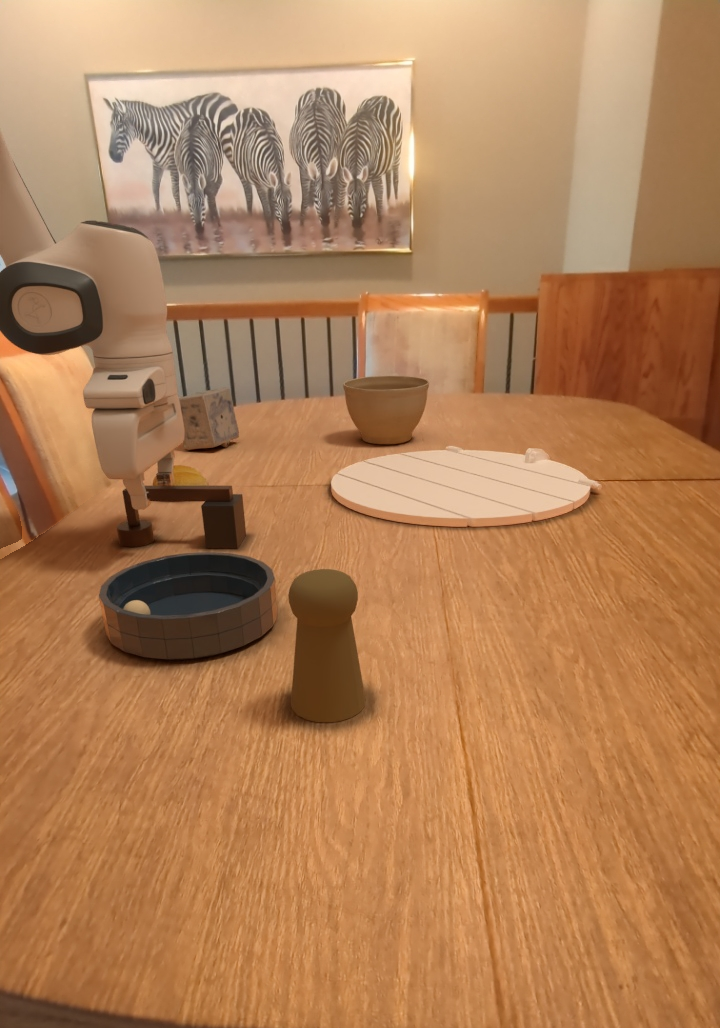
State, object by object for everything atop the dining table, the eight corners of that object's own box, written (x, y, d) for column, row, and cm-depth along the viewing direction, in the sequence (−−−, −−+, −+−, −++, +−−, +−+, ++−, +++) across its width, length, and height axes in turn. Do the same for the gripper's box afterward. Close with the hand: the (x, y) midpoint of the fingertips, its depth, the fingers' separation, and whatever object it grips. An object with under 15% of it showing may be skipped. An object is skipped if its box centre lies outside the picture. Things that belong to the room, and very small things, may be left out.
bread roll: (159, 504, 111) (155, 478, 110) (151, 489, 119) (147, 464, 117) (214, 497, 114) (211, 471, 112) (204, 483, 121) (201, 458, 120)
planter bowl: (328, 440, 147) (325, 382, 143) (387, 428, 157) (387, 373, 152) (385, 453, 137) (384, 391, 132) (445, 439, 146) (446, 380, 141)
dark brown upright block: (206, 548, 94) (200, 505, 91) (216, 535, 98) (211, 494, 96) (237, 548, 94) (233, 505, 91) (246, 535, 98) (242, 494, 95)
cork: (276, 700, 61) (265, 574, 56) (334, 675, 65) (329, 554, 60) (321, 731, 57) (314, 598, 52) (381, 703, 60) (379, 575, 55)
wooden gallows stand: (114, 547, 95) (104, 492, 92) (126, 535, 99) (117, 482, 96) (232, 548, 94) (226, 492, 91) (240, 536, 98) (234, 482, 95)
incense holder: (204, 440, 151) (198, 385, 146) (241, 442, 148) (236, 387, 143) (177, 450, 143) (169, 393, 138) (215, 453, 140) (208, 395, 135)
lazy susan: (466, 445, 141) (467, 426, 140) (648, 488, 113) (652, 466, 111) (283, 483, 120) (282, 461, 119) (449, 547, 92) (450, 520, 90)
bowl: (79, 662, 68) (69, 617, 66) (141, 590, 82) (135, 551, 80) (259, 666, 66) (254, 620, 64) (289, 591, 81) (286, 552, 79)
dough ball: (120, 597, 71) (127, 601, 74) (117, 624, 71) (124, 628, 74) (148, 598, 72) (154, 603, 74) (145, 626, 71) (151, 629, 74)
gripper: (141, 368, 97) (156, 475, 103) (75, 394, 79) (98, 521, 85) (189, 368, 97) (201, 475, 103) (133, 394, 78) (153, 522, 85)
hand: (154, 496), depth 94 cm, fingers open, 8 cm apart
